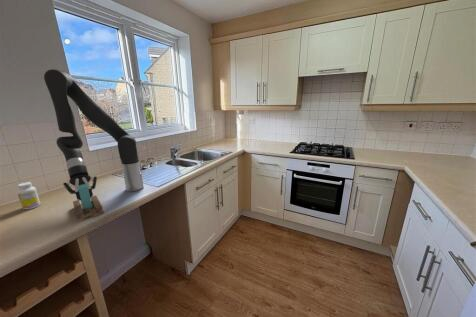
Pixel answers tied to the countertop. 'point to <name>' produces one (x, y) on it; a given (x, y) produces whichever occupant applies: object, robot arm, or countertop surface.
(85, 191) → the teal rectangular block
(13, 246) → the countertop surface
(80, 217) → the wooden cradle
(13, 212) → the countertop surface
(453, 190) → the countertop surface
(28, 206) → the supplement bottle
